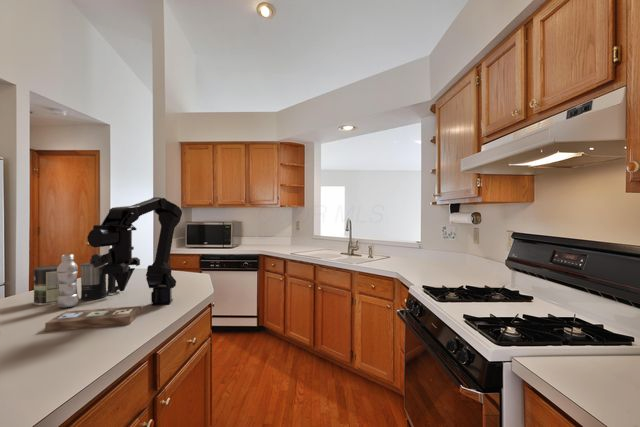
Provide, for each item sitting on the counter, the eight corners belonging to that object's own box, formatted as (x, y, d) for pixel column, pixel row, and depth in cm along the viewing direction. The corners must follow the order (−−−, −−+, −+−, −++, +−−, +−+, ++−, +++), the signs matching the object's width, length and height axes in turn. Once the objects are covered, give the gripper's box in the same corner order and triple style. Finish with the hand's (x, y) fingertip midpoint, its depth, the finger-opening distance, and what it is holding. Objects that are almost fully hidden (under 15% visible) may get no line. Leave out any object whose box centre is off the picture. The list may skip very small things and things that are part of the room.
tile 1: (108, 316, 108) (108, 310, 108) (102, 321, 103) (102, 314, 103) (91, 317, 106) (91, 311, 106) (84, 322, 101) (84, 316, 101)
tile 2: (83, 318, 106) (83, 311, 106) (75, 323, 101) (75, 316, 101) (65, 319, 104) (65, 313, 104) (57, 324, 100) (57, 317, 100)
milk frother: (75, 301, 129) (75, 265, 129) (92, 292, 144) (92, 260, 144) (115, 299, 133) (114, 263, 133) (127, 290, 148) (127, 258, 148)
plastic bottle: (83, 304, 124) (83, 253, 124) (67, 309, 118) (67, 256, 118) (68, 304, 125) (67, 253, 125) (52, 309, 118) (51, 256, 118)
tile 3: (133, 314, 109) (133, 308, 109) (128, 319, 105) (128, 312, 105) (117, 315, 108) (116, 309, 108) (111, 320, 103) (111, 314, 103)
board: (141, 312, 113) (141, 305, 113) (130, 324, 102) (130, 316, 102) (65, 318, 107) (65, 311, 107) (45, 331, 96) (45, 323, 96)
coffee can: (29, 306, 122) (28, 270, 122) (39, 300, 132) (39, 266, 132) (62, 303, 127) (62, 268, 127) (69, 297, 136) (69, 264, 136)
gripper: (105, 242, 113) (105, 286, 113) (80, 247, 95) (80, 299, 95) (140, 242, 116) (140, 284, 116) (122, 246, 98) (122, 297, 98)
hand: (122, 290), depth 106 cm, fingers closed
